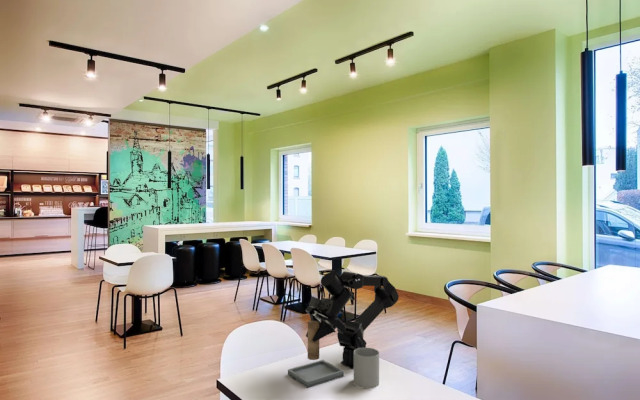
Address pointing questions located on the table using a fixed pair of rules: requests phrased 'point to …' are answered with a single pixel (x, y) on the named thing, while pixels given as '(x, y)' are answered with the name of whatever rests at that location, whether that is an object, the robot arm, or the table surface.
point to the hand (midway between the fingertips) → (309, 339)
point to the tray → (315, 373)
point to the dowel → (313, 346)
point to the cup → (366, 367)
